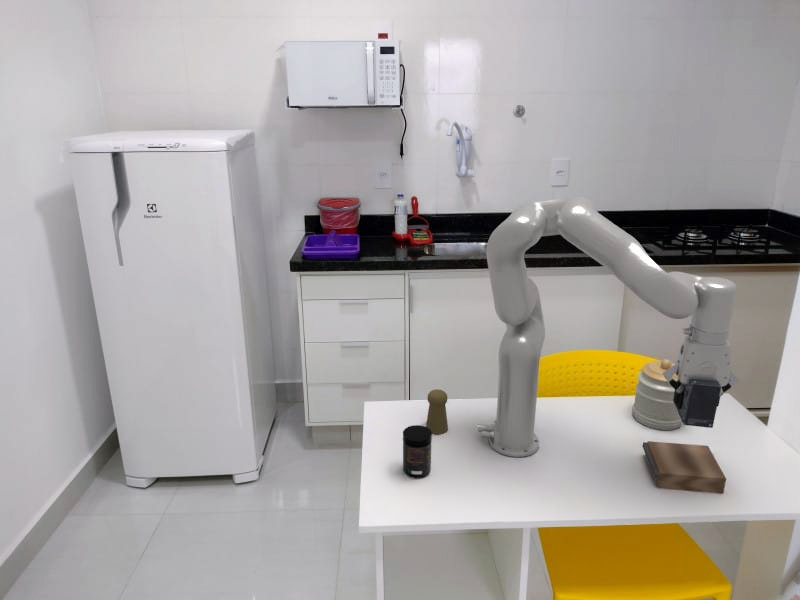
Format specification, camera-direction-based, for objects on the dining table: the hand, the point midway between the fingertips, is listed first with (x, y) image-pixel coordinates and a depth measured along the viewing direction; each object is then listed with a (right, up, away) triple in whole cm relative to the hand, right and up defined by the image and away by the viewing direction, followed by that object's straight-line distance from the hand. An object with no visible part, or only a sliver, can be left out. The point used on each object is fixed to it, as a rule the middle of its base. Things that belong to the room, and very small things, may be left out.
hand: (694, 406), depth 141 cm
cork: (-57, -10, +25) cm, 63 cm away
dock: (0, -17, +6) cm, 18 cm away
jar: (+4, -8, +29) cm, 31 cm away
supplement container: (-63, -17, +7) cm, 65 cm away
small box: (0, -2, +1) cm, 2 cm away
